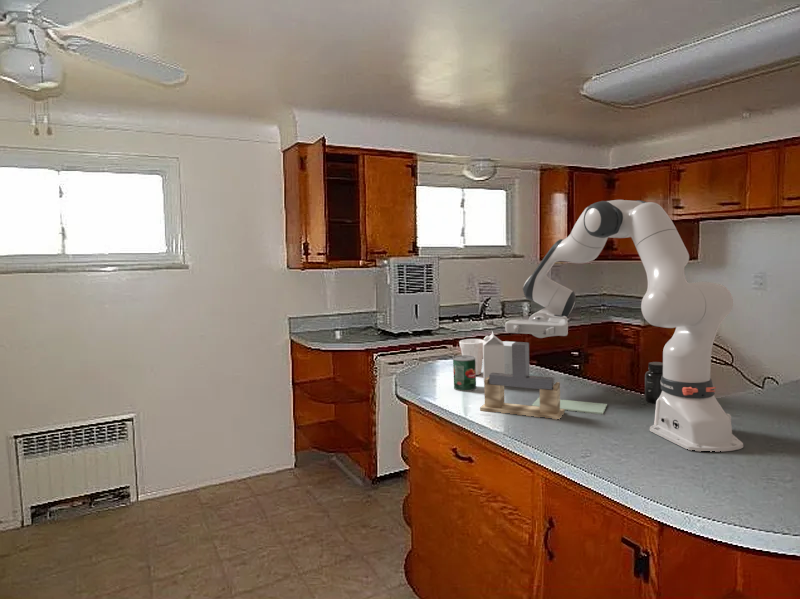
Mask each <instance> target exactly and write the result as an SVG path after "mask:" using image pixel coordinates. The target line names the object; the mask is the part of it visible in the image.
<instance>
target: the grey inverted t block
mask: <svg viewBox="0 0 800 599" xmlns="http://www.w3.org/2000/svg"><path fill="white" fill-rule="evenodd" d="M514 342H515V343H513V344H512V370H513V374H504V373H491V374H490V375H489V384H491V385H502V386H504V387H513V388H514V387H516V388H523V389H524V388H525V389H535V390H536V389H537V390H540V389H546V390H553V385H554V384H555V377H553V376H552V377H551V376H542V375H541V376H539V375H530V342H526V341H525V342H523V341H514Z"/></svg>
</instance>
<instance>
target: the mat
mask: <svg viewBox="0 0 800 599" xmlns="http://www.w3.org/2000/svg"><path fill="white" fill-rule="evenodd" d="M530 406H538V407H540V396H539V397H537V399H536V400H534V401H533V403H532V404H530ZM607 407H608V404H607V403H599V402H589V401H579V400H578V401H577V400H572V399H571V400H570V399H569V400H568V399H561V398H560V409H565V411H566V410H568V411H567V412H575V411H577V413H584V412H585V414H595V415H603V414H604V413H605V411H606V408H607Z"/></svg>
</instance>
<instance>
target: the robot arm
mask: <svg viewBox="0 0 800 599" xmlns="http://www.w3.org/2000/svg"><path fill="white" fill-rule="evenodd" d="M576 220H577V221H575V223H574V225H573V228H572V229H571V231H570V234H569V235H568V236H567V237H566V238H563V239H558V240H557V241H556V242H555V243H554V244H553V245H552V246H551V247H550V249H549V250H548V252H546V254H545V256H544V257H543V258H542V260H541V261H540V262H539V264H538V265H537V267H536V269H535V270H534V271H533V273H532V274H531V275H530V276H529V277H527V279H526V281H525V282H524V284H523V287H522V292H523V295H524V297H525V298H526V300H529V301H531V302H533V303H536V304H537V305H539V306H541V307H544V308H542V309H540V310H538V311H536V312H534V313H533V314H531V315H530V316H529V318H528V319H515V318H514V319H510V320H508V321H506V322H505V323H504V330H505V332H506V333H508V334H509V333H510V334H525V335H527V334H529V335H532V336H533V337H535V338H538V339H543V338H548V337H549V338H550V337H558V336H559V337H567V336H568V334H569V332H568V331H569V321H568V318H569V317H570V315H571V314H572V312H573V310H574V309H575V307H576V305H577V304H576V303H577V298H576V292H574V290H572V289H570V288H569V287H566V286H565V285H562V284H560V283H559V282H556V281H555V280H553V279H551V278H550V277H549V276H548V273H549V271H550V270H551V269H552V267H553V266H554V265H555V263H558V262H568V263H573V264H586V263H590V262H593V261H594V260H595V259H597V258H598V257H599V255H600V254H601V253H602V251H603V249H604V247H605V245H606V243H607V241H608V239H610V238H613V239H626V238H627V239H628V238H631V240H632V241H633V244H634V246H635V249H636V251H637V254H638V257H639V258H640V260H641V263H642V265H643V268H644V270H645V274H646V279H647V289H646V292H645V294H644V295H643V297H642V299H641V302H640V304H641V305H640V310H641V313H642V316H643V318H644V319H645V321H646V322H647V323H648V324H650V325H651V326H654V327H660V328H666V329H674V328H675V330H674V333H673V335H672V336H671V338H670V339H669V340H668V341H667V342H666V343H665V345H664V347H663V349H662V350H663V351H662V363H663V375H662V376H661V381H660V383H661V390H662V393H661V395H660V397H659V398H658V399H657V401H656V404H655V408H654V409H655V412H654V423H653V424H652V425H651V426H649V431H650V432H651V433H653V434H655V435H657V436H659V437H661V438H662V439H665V440H667V441H669V442H671V443H673V444H675V445H678V446H679V447H682V448H683V449H685V450H687V449H688V450H687V451H692V450H695V451H694V452H701V451H710V452H709V453H713V452H712V451H715V452H716V453H718V452H720V451H721V452H732V451H737V450H741V449H743V448H744V442H743V441H741V440H740V439H739V438H738V437H737V436H735V434H733V427H732V416H731V414H730V413H726V412H725V410H724V409H723V407H722V406H721V404H720V402H719V401H718V400H717V398H716V396H715V395H716V394H715V392H716V390H715V389H716V386H715V385H714V383H713V380H712V378H711V367H712V366H711V362H712V351H713V346H714V345H713V344H714V343H715V339H716V336H717V334H718V330H719V329H720V327H721V324H722V323H723V321H724V320H725V319H726V317H727V316H728V315H729V314H730V313H731V312H732V310H733V306H734V299H733V295H732V293H731V291H730V290H729V289H728V288H727V287H726V286H724V285H723V284H721V283H716V282H709V281H696V282H688V281H687V277H686V273H685V267H686V266H687V264H688V262H689V260H690V254H689V251H688V249H687V248H686V246H685V244H684V242H683V239H682V238H681V235H680V234H679V232H678V230H677V227H676V226H675V224H674V222H673V220H672V219H671V218H670V216H669V215H668V213H667V211H665V209H664V208H663V207H662V206H661V205H660V204H659V203H657V202H651V201H649V202H648V201H644V200H640V199H639V200H627V199H625V200H624V199H614V200H601V201H597V202H594V203H592V204H590V205H588V206H587V207H585V208H584V210H583V211H582V213H581V214H580V215H579V217H578V219H576ZM715 452H714V453H715Z"/></svg>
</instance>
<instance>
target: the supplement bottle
mask: <svg viewBox="0 0 800 599" xmlns="http://www.w3.org/2000/svg"><path fill="white" fill-rule="evenodd" d="M662 375H663V361H662V362H661V361H652V362H648V371H646V372H645V374H644V400H645V402H646V403H649V404H652V405H656V401H657V399H658V398H659V397H660V395H661V393H662V390H661V383H660V381H661V376H662Z"/></svg>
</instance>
